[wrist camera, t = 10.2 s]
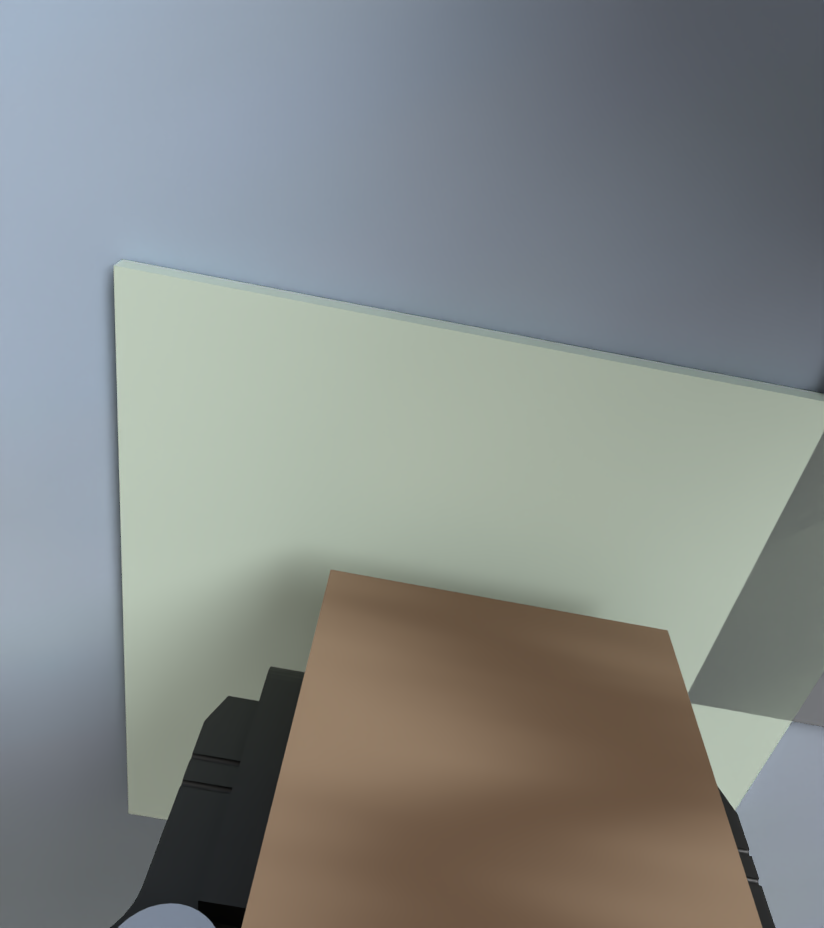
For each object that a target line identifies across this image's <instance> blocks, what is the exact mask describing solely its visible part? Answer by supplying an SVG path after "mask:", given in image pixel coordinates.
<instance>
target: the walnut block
mask: <svg viewBox="0 0 824 928" xmlns="http://www.w3.org/2000/svg"><path fill="white" fill-rule="evenodd" d="M241 928H762V925H761V921H760V918H759V915H758V912H757V909H756V906H755V903H754V899H753V896H752V893H751V890H750V887H749V884H748V881H747V877H746V874H745V871H744V868H743V865H742V862H741V859H740V856H739V852H738V849H737V846H736V843H735V840H734V837H733V834H732V830H731V827H730V824H729V821H728V818H727V815H726V812H725V808H724V805H723V802H722V799H721V796H720V793H719V790H718V786H717V783H716V780H715V777H714V774H713V771H712V768H711V765H710V761H709V758H708V755H707V752H706V749H705V746H704V743H703V739H702V736H701V733H700V730H699V727H698V724H697V721H696V717H695V714H694V711H693V708H692V705H691V702H690V699H689V695H688V692H687V689H686V686H685V683H684V680H683V677H682V674H681V670H680V667H679V664H678V661H677V658H676V655H675V652H674V648H673V645H672V642H671V639H670V636H669V633H668V630H663V629H658V628H652V627H647V626H641V625H635V624H630V623H624V622H619V621H613V620H608V619H602V618H597V617H591V616H586V615H580V614H575V613H569V612H563V611H558V610H552V609H547V608H541V607H536V606H530V605H525V604H519V603H514V602H508V601H503V600H497V599H491V598H486V597H480V596H475V595H469V594H464V593H458V592H453V591H447V590H442V589H436V588H431V587H425V586H419V585H414V584H408V583H403V582H397V581H392V580H386V579H381V578H375V577H370V576H364V575H359V574H353V573H347V572H342V571H336V570H330V574H329V578H328V582H327V586H326V590H325V594H324V598H323V602H322V606H321V610H320V614H319V618H318V622H317V626H316V630H315V634H314V638H313V642H312V646H311V650H310V654H309V658H308V662H307V666H306V670H305V674H304V678H303V682H302V686H301V690H300V694H299V698H298V702H297V706H296V710H295V714H294V718H293V722H292V726H291V730H290V734H289V738H288V742H287V746H286V750H285V754H284V758H283V762H282V766H281V770H280V774H279V778H278V782H277V786H276V790H275V794H274V799H273V803H272V807H271V811H270V815H269V819H268V823H267V827H266V831H265V835H264V839H263V843H262V847H261V851H260V855H259V859H258V863H257V867H256V871H255V875H254V879H253V883H252V887H251V891H250V895H249V899H248V903H247V907H246V911H245V915H244V919H243V923H242V927H241Z"/></svg>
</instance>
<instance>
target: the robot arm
mask: <svg viewBox="0 0 824 928" xmlns="http://www.w3.org/2000/svg"><path fill="white" fill-rule="evenodd" d="M304 674H305V672H301V671H295V670H290V669H284V668H278V667H272V666H271V667H270V668H269V670H268V673H267V676H266V680H265V683H264V686H263V689H262V693H261V696H260V699H259V701H256V700H250V699H244V698H239V697H233V696H228V697H227V698H226V699H225V700H224V701H223V702H222V703H221V704H220V705H219V706H218V707H217V708H216V709H215V710H214V711H213V712H212V713H211V714H210V715H209V717H208V718H207V719H206V720H205V721H204V723H203V726H202V728H201V731H200V734H199V736H198V739H197V742H196V745H195V747H194V750H193V753H192V757H191V759H190V761H189V763H188V766H187V769H186V771H185V774H184V777H183V780H182V784H181V786H180V787H179V790H178V793H177V795H176V798H175V801H174V804H173V806H172V809H171V812H170V814H169V817H168V820H167V822H166V825H165V828H164V830H163V833H162V836H161V838H160V841H159V844H158V846H157V849H156V852H155V854H154V857H153V860H152V863H151V865H150V868H149V871H148V873H147V876H146V879H145V881H144V884H143V886H142V889H141V891H140V893H139V895H138V897H137V898H136V900H135V902H134V903H133V905H132V906H131V907H130V909H129V910H128V911H127V912H126V913H125V915H124V916H123V917H122V918H121V919H120V920H118V921H117V922H116V923H115V924H114V925H113V926H112V927H110V928H241V927H242V923H243V919H244V915H245V911H246V907H247V903H248V899H249V895H250V891H251V887H252V883H253V879H254V875H255V871H256V867H257V863H258V859H259V855H260V851H261V847H262V843H263V839H264V835H265V831H266V827H267V823H268V819H269V815H270V811H271V807H272V803H273V799H274V794H275V790H276V786H277V782H278V778H279V774H280V770H281V766H282V762H283V758H284V754H285V750H286V746H287V742H288V738H289V734H290V730H291V726H292V722H293V718H294V714H295V710H296V706H297V702H298V698H299V694H300V690H301V686H302V682H303V678H304ZM718 790H719V793H720V796H721V799H722V802H723V805H724V808H725V812H726V815H727V818H728V821H729V824H730V827H731V830H732V834H733V837H734V840H735V843H736V846H737V849H738V852H739V856H740V859H741V862H742V865H743V868H744V871H745V874H746V877H747V881H748V884H749V887H750V890H751V893H752V896H753V899H754V903H755V906H756V909H757V912H758V915H759V918H760V921H761V925H762V928H775V925H774V922H773V919H772V916H771V913H770V910H769V907H768V904H767V901H766V898H765V895H764V892H763V889H762V886H759V884H758V879H759V877H758V874H757V871H756V868H755V865H754V862H753V859H752V856H749V847H748V844H747V841H746V838H745V835H744V832H743V829H742V826H741V823H740V820H739V817H738V814H737V813H736V811H735V810H734V808H733V807H732V806H731V804H730V803H729V801H728V800H727V799H726V797H725V796H724V794H723V793H722V792H721V790H720V789H719V787H718Z"/></svg>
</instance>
